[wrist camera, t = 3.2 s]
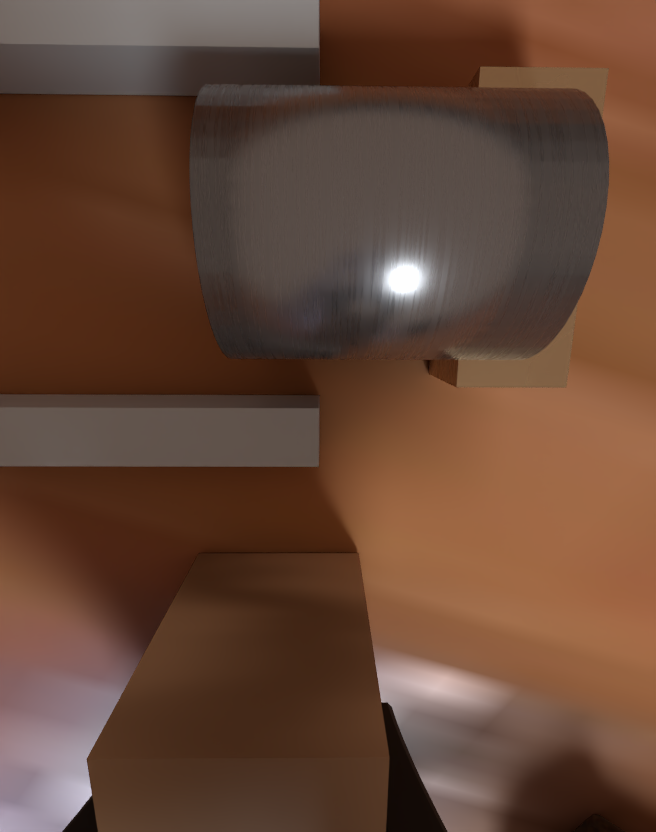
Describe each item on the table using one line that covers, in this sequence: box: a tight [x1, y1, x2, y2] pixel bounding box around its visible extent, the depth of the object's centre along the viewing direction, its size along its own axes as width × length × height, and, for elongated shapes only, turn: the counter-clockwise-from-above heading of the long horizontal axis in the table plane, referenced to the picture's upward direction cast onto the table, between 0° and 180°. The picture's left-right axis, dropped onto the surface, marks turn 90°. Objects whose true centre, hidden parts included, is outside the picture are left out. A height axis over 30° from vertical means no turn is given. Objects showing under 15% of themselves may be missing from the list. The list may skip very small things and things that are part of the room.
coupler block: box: [87, 553, 389, 832], centre depth 9 cm, size 4×8×5 cm, turn 0°
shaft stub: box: [190, 67, 609, 388], centre depth 7 cm, size 6×5×4 cm
